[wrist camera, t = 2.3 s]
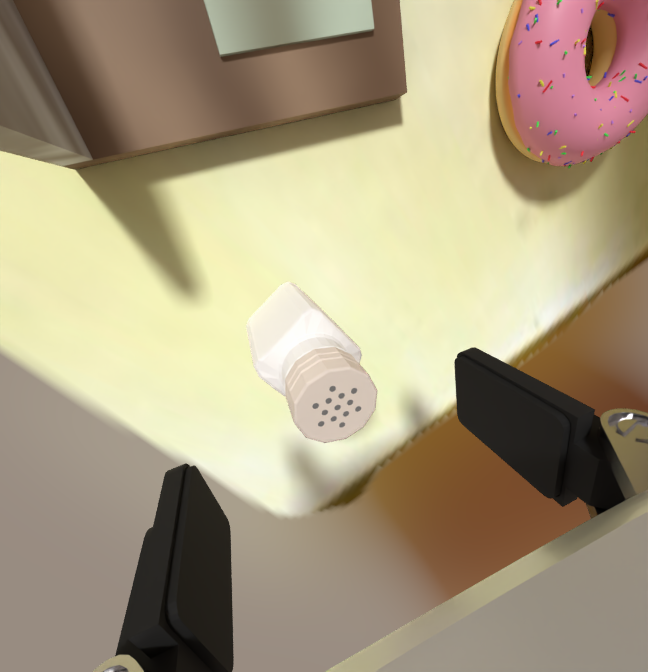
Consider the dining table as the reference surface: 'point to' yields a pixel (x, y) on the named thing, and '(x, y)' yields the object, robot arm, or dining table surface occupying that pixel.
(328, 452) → the dining table surface
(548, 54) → the doughnut
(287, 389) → the salt shaker
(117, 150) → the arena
